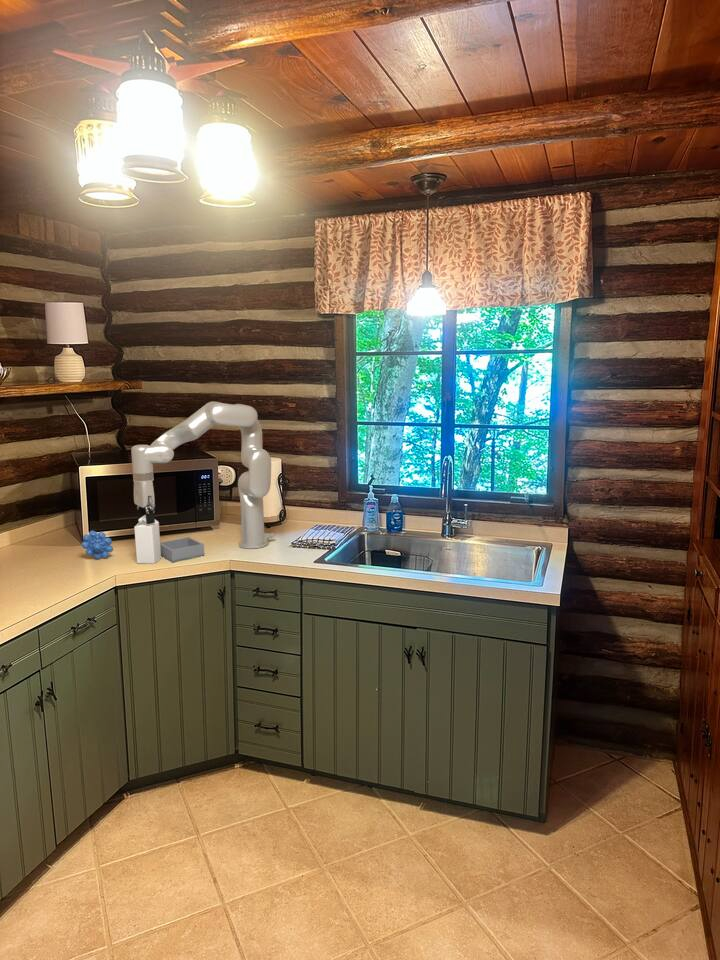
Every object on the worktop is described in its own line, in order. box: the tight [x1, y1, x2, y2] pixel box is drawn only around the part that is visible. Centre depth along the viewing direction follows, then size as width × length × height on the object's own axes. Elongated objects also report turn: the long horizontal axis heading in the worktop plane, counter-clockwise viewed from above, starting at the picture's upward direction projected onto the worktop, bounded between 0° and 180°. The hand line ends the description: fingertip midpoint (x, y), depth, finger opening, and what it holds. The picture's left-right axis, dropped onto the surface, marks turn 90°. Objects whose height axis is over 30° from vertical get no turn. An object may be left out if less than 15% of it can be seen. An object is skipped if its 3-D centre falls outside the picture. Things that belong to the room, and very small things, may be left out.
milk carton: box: [134, 515, 162, 565], centre depth 271 cm, size 7×7×19 cm
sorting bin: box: [160, 536, 205, 563], centre depth 280 cm, size 14×14×5 cm
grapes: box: [81, 530, 114, 560], centre depth 274 cm, size 12×7×12 cm, turn 108°
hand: (146, 520), depth 270 cm, fingers closed on milk carton, 7 cm apart
